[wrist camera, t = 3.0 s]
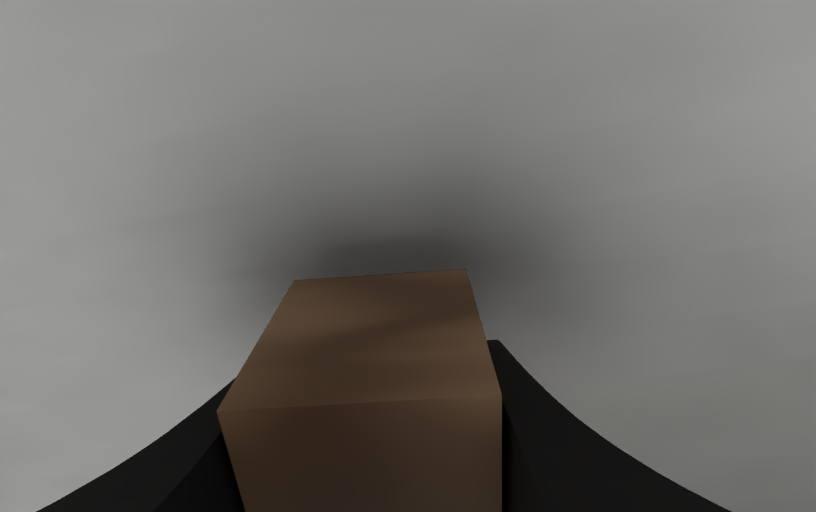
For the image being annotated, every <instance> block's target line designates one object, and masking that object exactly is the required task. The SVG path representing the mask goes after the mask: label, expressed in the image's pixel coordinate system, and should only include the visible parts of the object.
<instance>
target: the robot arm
mask: <svg viewBox="0 0 816 512" xmlns="http://www.w3.org/2000/svg"><path fill="white" fill-rule="evenodd" d="M486 341H487V345H488V348H489V352H490V355H491V359H492V362H493V366H494V369H495V373H496V376H497V380H498V383H499V387H500V390H501V394H502V512H731V511H729V510H727V509H725V508H723V507H721V506H719V505H717V504H715V503H713V502H711V501H709V500H707V499H705V498H703V497H701V496H699V495H697V494H696V493H694V492H692V491H690V490H688V489H686V488H684V487H682V486H680V485H679V484H677V483H675V482H673V481H671V480H670V479H668V478H666V477H664V476H663V475H661V474H659V473H657V472H656V471H654V470H652V469H651V468H649V467H648V466H646V465H644V464H643V463H641V462H639V461H638V460H636V459H635V458H633V457H631V456H630V455H628V454H627V453H625V452H624V451H622V450H621V449H619V448H618V447H616V446H615V445H613V444H612V443H610V442H609V441H607V440H606V439H605V438H603V437H602V436H600V435H599V434H598V433H596V432H595V431H594V430H592V429H591V428H589V427H588V426H587V425H585V424H584V423H583V422H582V421H580V420H579V419H578V418H577V417H575V416H574V415H573V414H572V413H571V412H569V411H568V410H567V409H566V408H565V407H564V406H563V405H561V404H560V403H559V402H558V401H557V400H556V399H555V398H554V397H553V396H551V395H550V394H549V393H548V392H547V391H546V390H545V389H544V388H543V387H542V386H541V385H540V384H539V383H538V382H537V381H536V380H535V379H534V378H533V377H532V376H531V375H530V374H529V373H528V372H527V371H526V370H525V369H524V368H523V367H522V366H521V364H520V363H519V362H518V361H517V360H516V359H515V358H514V357H513V356H512V354H511V353H510V352H509V351H508V350H507V349H506V348H505V346H504V345H503V344H502V343H501V342H500V341H499V340H486ZM235 379H236V378H235ZM235 379H234V380H233V381H231V382H230V383H229V384H228V385H227V386H225V387H224V388H223V389H222V390H221V391H219V392H218V393H217V394H216V395H215V396H213V397H212V398H211V399H210V400H209V401H207V402H206V403H205V404H204V405H202V406H201V407H200V408H198V409H197V410H196V411H195V412H193V413H192V414H191V415H189V416H188V417H187V418H185V419H184V420H183V421H181V422H180V423H179V424H178V425H176V426H175V427H174V428H172V429H171V430H170V431H168V432H167V433H166V434H164V435H163V436H162V437H160V438H159V439H157V440H156V441H154V442H153V443H151V444H150V445H149V446H147V447H146V448H144V449H143V450H141V451H140V452H138V453H137V454H135V455H133V456H132V457H130V458H129V459H127V460H126V461H124V462H123V463H121V464H120V465H118V466H116V467H115V468H113V469H112V470H110V471H108V472H106V473H105V474H103V475H101V476H100V477H98V478H96V479H94V480H93V481H91V482H89V483H87V484H86V485H84V486H82V487H80V488H79V489H77V490H75V491H74V492H72V493H70V494H68V495H67V496H65V497H63V498H61V499H60V500H58V501H56V502H54V503H52V504H50V505H48V506H46V507H44V508H43V509H41V510H39V511H37V512H245V509H244V505H243V502H242V498H241V495H240V491H239V488H238V484H237V481H236V477H235V474H234V470H233V467H232V464H231V460H230V457H229V453H228V450H227V446H226V443H225V439H224V436H223V432H222V429H221V425H220V422H219V419H218V415H217V412H216V411H217V409H218V408H219V406H220V404H221V403H222V401H223V399H224V397H225V396H226V394H227V392H228V391H229V389H230V387H231V386H232V384H233V382H234V381H235Z"/></svg>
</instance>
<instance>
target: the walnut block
mask: <svg viewBox="0 0 816 512" xmlns="http://www.w3.org/2000/svg"><path fill="white" fill-rule="evenodd" d="M216 412H217V415H218V419H219V422H220V425H221V429H222V432H223V436H224V439H225V443H226V446H227V450H228V453H229V457H230V460H231V464H232V467H233V470H234V474H235V477H236V481H237V484H238V488H239V491H240V495H241V498H242V502H243V505H244V509H245V512H502V394H501V390H500V387H499V383H498V380H497V376H496V373H495V369H494V366H493V362H492V359H491V355H490V352H489V348H488V345H487V341H486V338H485V334H484V331H483V328H482V324H481V321H480V317H479V314H478V310H477V307H476V303H475V300H474V296H473V293H472V289H471V286H470V282H469V279H468V275H467V272H466V269H457V270H442V271H427V272H412V273H397V274H382V275H367V276H352V277H337V278H322V279H307V280H294V282H293V283H292V285H291V287H290V288H289V290H288V292H287V293H286V295H285V297H284V299H283V300H282V302H281V304H280V305H279V307H278V309H277V310H276V312H275V314H274V315H273V317H272V319H271V320H270V322H269V324H268V325H267V327H266V329H265V330H264V332H263V334H262V335H261V337H260V339H259V340H258V342H257V344H256V345H255V347H254V349H253V351H252V352H251V354H250V356H249V357H248V359H247V361H246V362H245V364H244V366H243V367H242V369H241V371H240V372H239V374H238V376H237V377H236V379H235V381H234V382H233V384H232V386H231V387H230V389H229V391H228V392H227V394H226V396H225V397H224V399H223V401H222V403H221V404H220V406H219V408H218V409H217V411H216Z"/></svg>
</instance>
